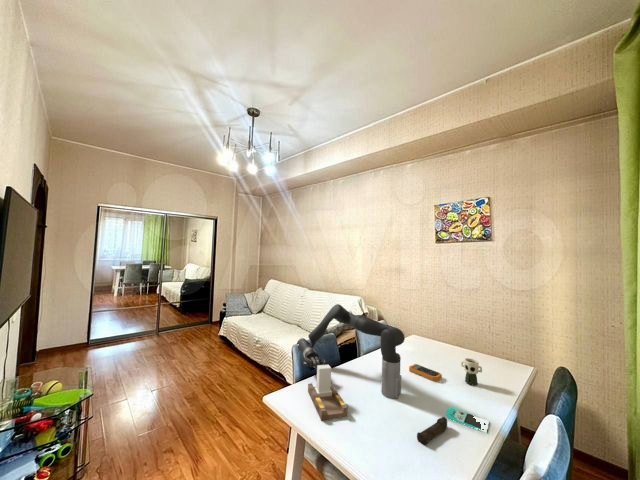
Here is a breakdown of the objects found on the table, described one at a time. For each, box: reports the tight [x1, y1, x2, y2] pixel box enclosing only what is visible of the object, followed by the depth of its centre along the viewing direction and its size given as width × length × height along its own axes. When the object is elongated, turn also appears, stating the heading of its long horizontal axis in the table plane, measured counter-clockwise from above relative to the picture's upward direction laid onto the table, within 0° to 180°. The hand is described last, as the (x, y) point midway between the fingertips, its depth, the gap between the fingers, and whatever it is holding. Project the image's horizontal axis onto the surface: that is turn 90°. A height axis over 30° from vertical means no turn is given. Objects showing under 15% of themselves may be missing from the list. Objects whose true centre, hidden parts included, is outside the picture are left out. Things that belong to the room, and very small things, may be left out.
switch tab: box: [314, 364, 332, 397], centre depth 130 cm, size 6×7×13 cm
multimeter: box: [408, 363, 443, 383], centre depth 159 cm, size 9×18×3 cm, turn 39°
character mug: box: [460, 357, 483, 386], centre depth 150 cm, size 11×7×13 cm, turn 43°
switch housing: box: [307, 382, 349, 422], centre depth 124 cm, size 24×12×4 cm, turn 16°
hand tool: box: [416, 416, 448, 446], centre depth 105 cm, size 19×4×5 cm, turn 123°
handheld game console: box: [446, 406, 486, 430], centre depth 116 cm, size 10×16×1 cm, turn 52°
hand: (318, 368), depth 138 cm, fingers closed
